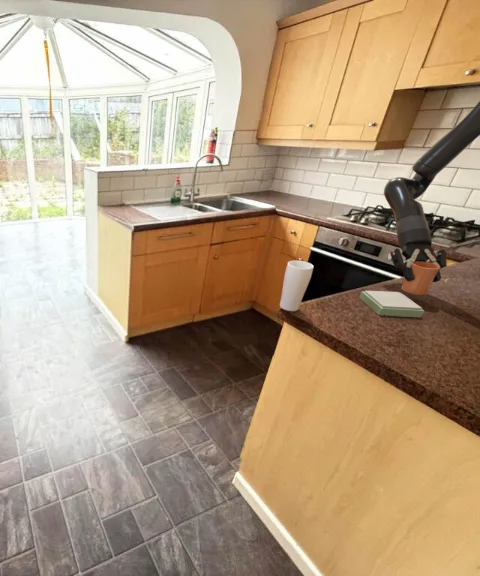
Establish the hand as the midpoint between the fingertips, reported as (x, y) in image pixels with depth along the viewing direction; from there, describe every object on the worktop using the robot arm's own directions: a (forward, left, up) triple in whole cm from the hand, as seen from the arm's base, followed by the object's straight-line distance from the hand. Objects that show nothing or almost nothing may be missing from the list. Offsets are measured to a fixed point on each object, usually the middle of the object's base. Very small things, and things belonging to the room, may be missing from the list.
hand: (423, 280), depth 100 cm
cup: (0, -2, -4) cm, 5 cm away
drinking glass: (+40, +9, -7) cm, 42 cm away
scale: (+10, +5, -7) cm, 13 cm away
